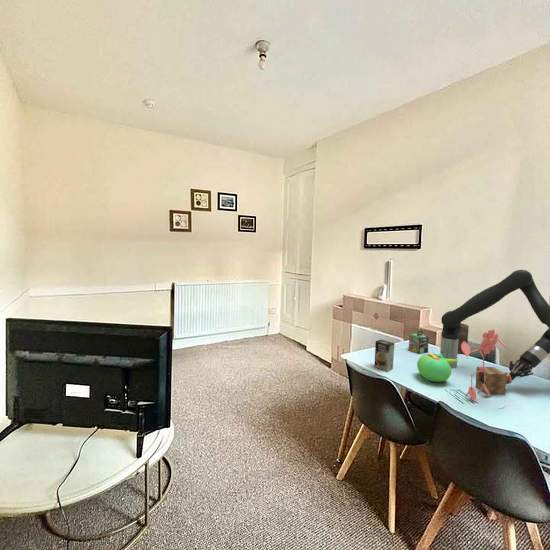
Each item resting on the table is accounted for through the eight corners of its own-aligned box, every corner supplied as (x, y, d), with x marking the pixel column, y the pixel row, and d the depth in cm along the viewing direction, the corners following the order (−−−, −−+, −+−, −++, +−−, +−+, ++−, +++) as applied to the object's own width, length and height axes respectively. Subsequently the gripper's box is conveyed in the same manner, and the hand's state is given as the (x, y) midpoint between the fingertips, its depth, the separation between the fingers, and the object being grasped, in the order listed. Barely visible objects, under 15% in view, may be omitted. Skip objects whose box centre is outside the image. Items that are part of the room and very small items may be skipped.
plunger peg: (488, 386, 157) (489, 375, 157) (480, 381, 163) (481, 370, 162) (511, 385, 158) (512, 375, 157) (502, 380, 163) (503, 370, 163)
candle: (456, 349, 222) (458, 322, 220) (468, 352, 217) (470, 324, 215) (453, 352, 217) (455, 323, 215) (465, 355, 212) (467, 326, 210)
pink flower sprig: (451, 398, 152) (457, 327, 147) (486, 389, 162) (494, 323, 157) (482, 415, 138) (491, 337, 133) (519, 404, 147) (528, 331, 143)
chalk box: (417, 348, 225) (418, 328, 223) (428, 352, 216) (429, 331, 215) (407, 350, 221) (409, 329, 219) (418, 354, 213) (419, 332, 211)
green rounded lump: (410, 373, 181) (412, 348, 180) (438, 372, 183) (440, 347, 181) (428, 387, 163) (430, 360, 162) (459, 386, 165) (461, 359, 163)
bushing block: (487, 394, 156) (489, 374, 155) (475, 386, 165) (476, 366, 164) (505, 394, 156) (507, 374, 155) (492, 386, 165) (493, 366, 164)
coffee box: (373, 367, 190) (374, 341, 188) (379, 364, 194) (380, 339, 192) (387, 372, 183) (389, 344, 181) (393, 369, 187) (394, 342, 185)
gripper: (518, 346, 166) (494, 369, 167) (540, 355, 153) (513, 380, 154) (527, 356, 167) (503, 378, 167) (550, 366, 154) (523, 390, 154)
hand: (508, 379), depth 161 cm, fingers closed
